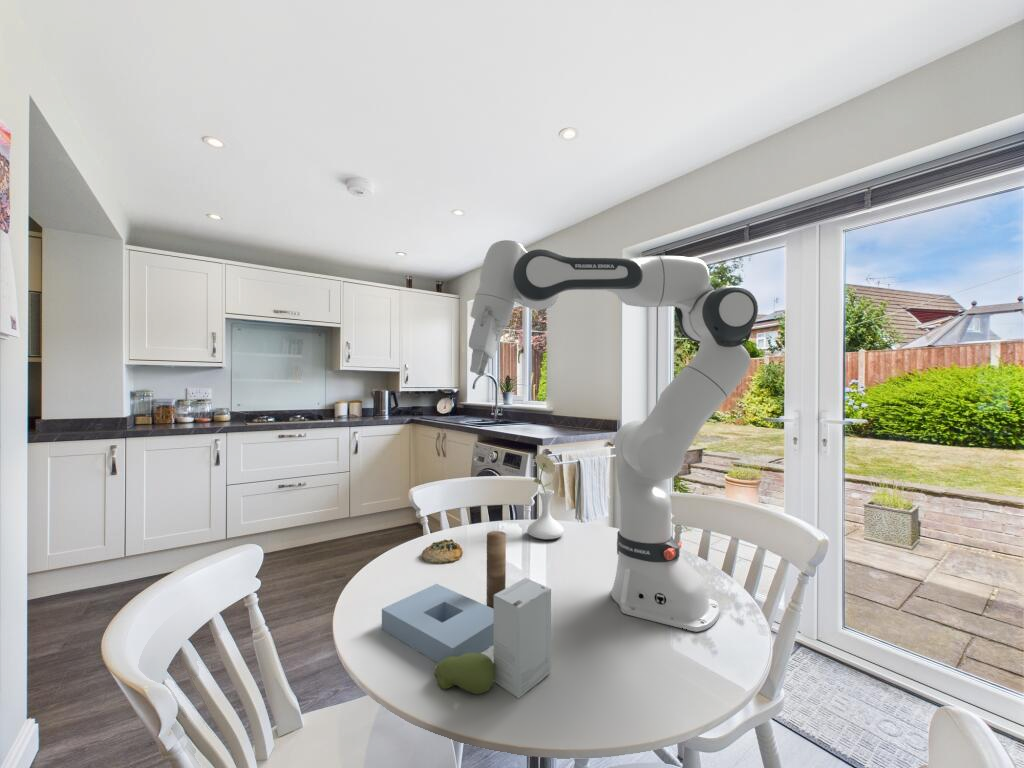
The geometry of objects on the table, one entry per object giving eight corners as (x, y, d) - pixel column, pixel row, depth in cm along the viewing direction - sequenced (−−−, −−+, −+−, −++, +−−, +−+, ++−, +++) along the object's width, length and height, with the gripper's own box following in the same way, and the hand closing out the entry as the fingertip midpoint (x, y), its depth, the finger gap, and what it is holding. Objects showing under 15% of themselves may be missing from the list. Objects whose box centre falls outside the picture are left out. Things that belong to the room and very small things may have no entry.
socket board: (506, 635, 88) (506, 614, 88) (452, 671, 77) (452, 648, 77) (436, 601, 100) (436, 583, 100) (381, 629, 90) (381, 608, 89)
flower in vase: (571, 540, 138) (571, 457, 137) (536, 545, 134) (537, 459, 133) (551, 526, 150) (552, 450, 150) (519, 530, 146) (519, 452, 145)
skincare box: (525, 659, 80) (526, 575, 80) (552, 675, 76) (553, 586, 76) (490, 683, 74) (491, 592, 74) (518, 701, 70) (519, 605, 70)
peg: (509, 608, 98) (509, 533, 97) (496, 616, 95) (497, 539, 94) (495, 602, 100) (495, 529, 100) (482, 609, 97) (482, 534, 97)
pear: (484, 668, 69) (426, 665, 72) (489, 703, 69) (431, 698, 72) (497, 646, 75) (442, 645, 78) (502, 679, 74) (447, 676, 78)
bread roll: (449, 545, 133) (450, 528, 133) (470, 562, 125) (471, 545, 124) (414, 556, 126) (415, 539, 126) (434, 575, 118) (434, 557, 117)
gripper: (501, 306, 91) (485, 374, 91) (507, 324, 112) (494, 379, 111) (471, 299, 92) (454, 367, 91) (482, 318, 112) (469, 373, 112)
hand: (476, 374), depth 102 cm, fingers open, 8 cm apart
